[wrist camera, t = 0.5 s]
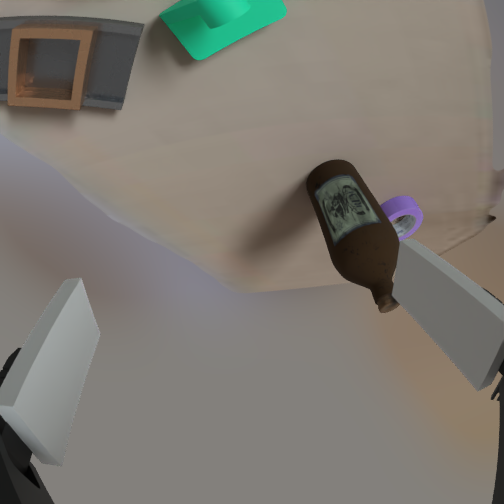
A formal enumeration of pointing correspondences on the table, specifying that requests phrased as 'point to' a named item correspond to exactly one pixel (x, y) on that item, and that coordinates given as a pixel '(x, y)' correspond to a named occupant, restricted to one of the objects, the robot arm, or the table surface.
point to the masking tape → (400, 208)
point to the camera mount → (218, 22)
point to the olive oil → (355, 230)
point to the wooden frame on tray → (66, 61)
